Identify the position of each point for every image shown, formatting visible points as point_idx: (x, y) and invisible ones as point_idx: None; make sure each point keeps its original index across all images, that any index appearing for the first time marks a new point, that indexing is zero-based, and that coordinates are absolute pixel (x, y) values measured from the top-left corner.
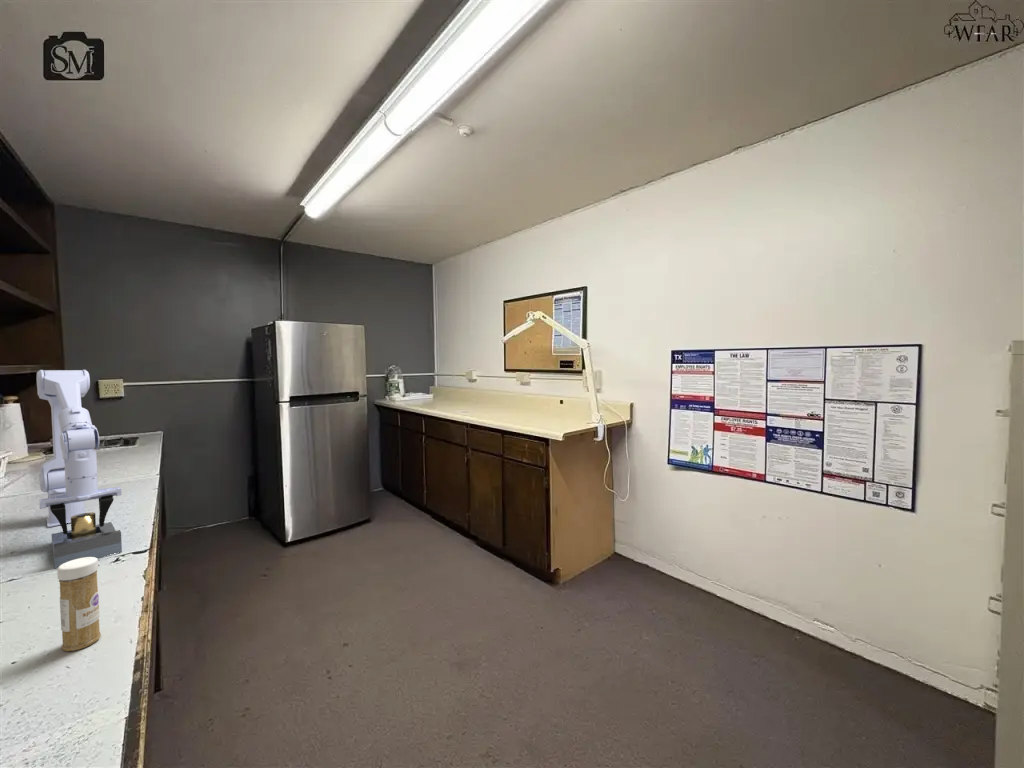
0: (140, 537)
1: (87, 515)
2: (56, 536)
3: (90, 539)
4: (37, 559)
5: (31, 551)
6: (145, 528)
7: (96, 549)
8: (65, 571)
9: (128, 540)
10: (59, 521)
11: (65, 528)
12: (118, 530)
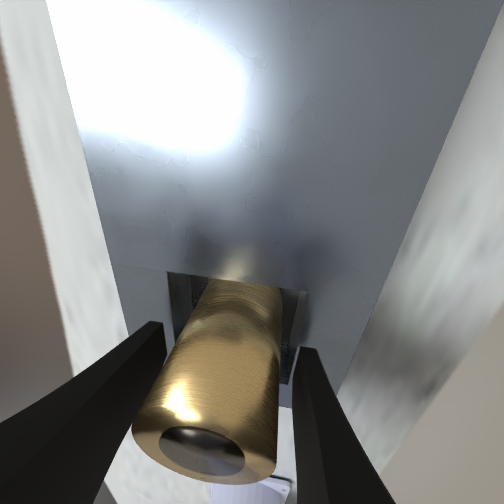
0: (44, 161)
1: (175, 428)
2: (327, 376)
3: None
4: (432, 234)
5: (392, 354)
6: (55, 278)
7: None
8: None
9: None
10: (365, 454)
11: (313, 376)
12: None
